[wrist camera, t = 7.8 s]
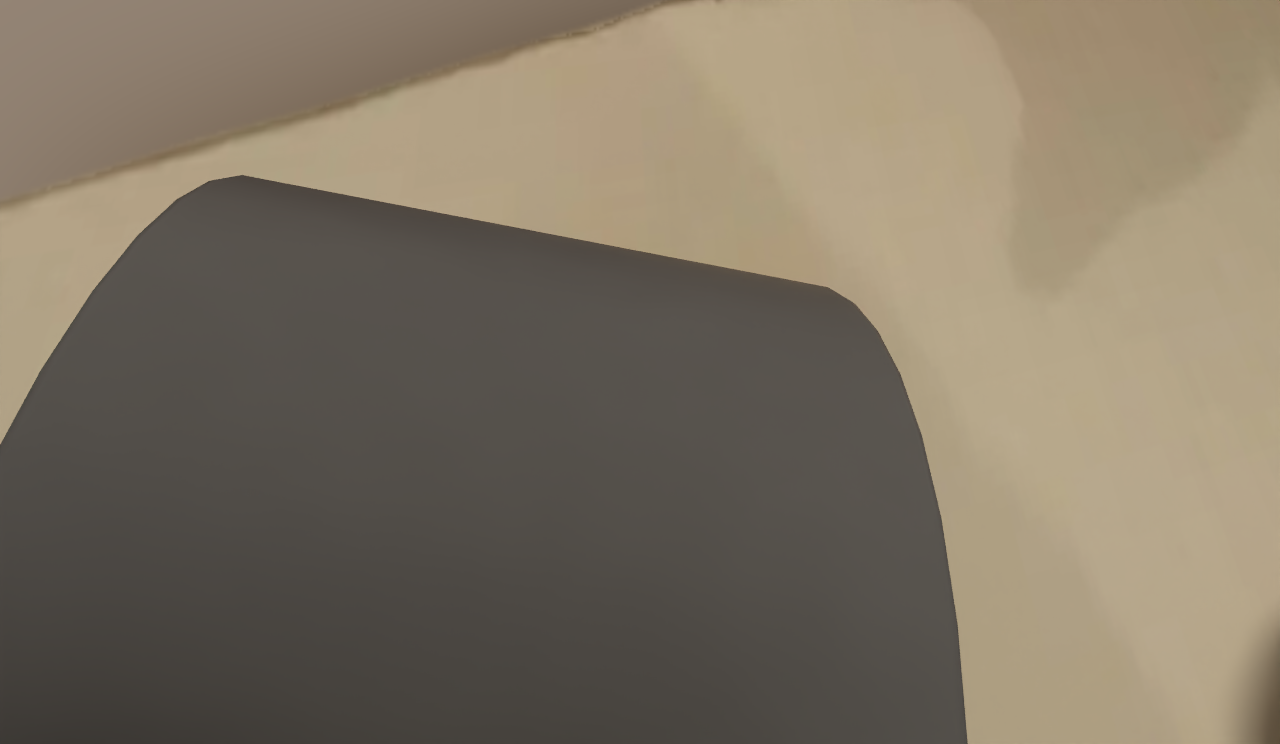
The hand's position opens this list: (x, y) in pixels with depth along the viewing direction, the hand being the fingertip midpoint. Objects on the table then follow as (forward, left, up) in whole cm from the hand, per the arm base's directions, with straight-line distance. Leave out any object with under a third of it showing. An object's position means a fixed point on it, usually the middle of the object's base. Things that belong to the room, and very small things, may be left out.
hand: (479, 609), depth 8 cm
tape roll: (-1, -1, -6) cm, 6 cm away
